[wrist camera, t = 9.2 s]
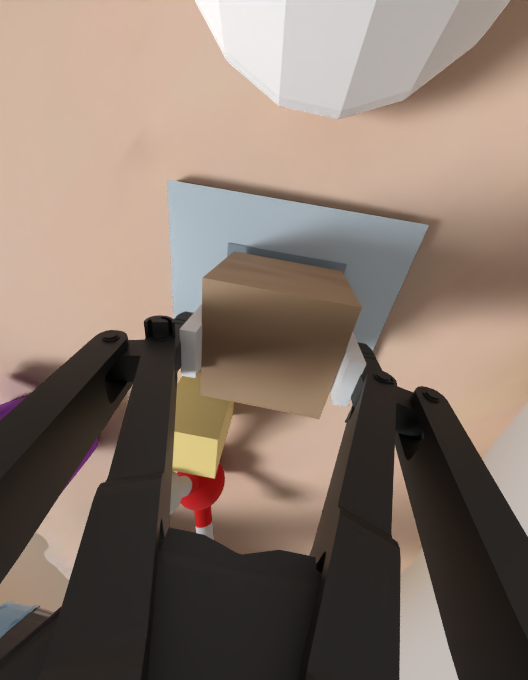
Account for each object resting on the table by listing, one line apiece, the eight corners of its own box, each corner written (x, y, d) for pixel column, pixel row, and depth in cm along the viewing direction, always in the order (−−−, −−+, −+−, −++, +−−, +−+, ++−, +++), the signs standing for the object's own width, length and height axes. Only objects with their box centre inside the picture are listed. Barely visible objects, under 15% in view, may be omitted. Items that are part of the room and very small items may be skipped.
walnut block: (314, 359, 19) (319, 419, 14) (226, 342, 20) (200, 395, 14) (341, 270, 16) (362, 307, 11) (234, 251, 16) (202, 277, 11)
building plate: (349, 387, 23) (352, 397, 22) (180, 356, 23) (175, 364, 22) (420, 223, 16) (429, 225, 15) (175, 180, 16) (166, 179, 15)
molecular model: (243, 498, 34) (227, 598, 26) (206, 497, 35) (178, 594, 27) (208, 405, 26) (166, 507, 17) (160, 408, 27) (98, 506, 18)
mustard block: (232, 414, 26) (214, 478, 20) (187, 405, 27) (155, 467, 21) (237, 378, 24) (217, 439, 18) (186, 369, 24) (150, 426, 18)
